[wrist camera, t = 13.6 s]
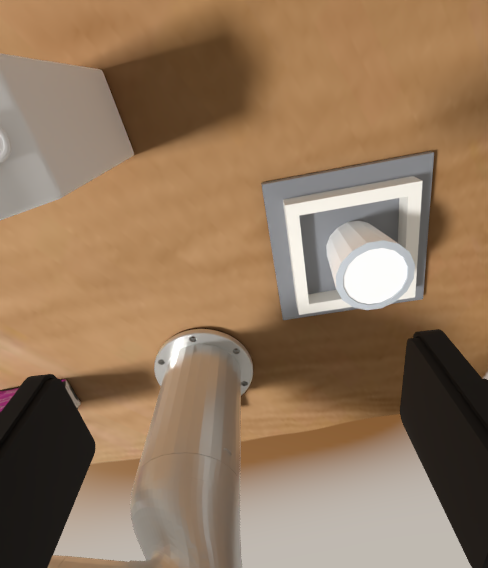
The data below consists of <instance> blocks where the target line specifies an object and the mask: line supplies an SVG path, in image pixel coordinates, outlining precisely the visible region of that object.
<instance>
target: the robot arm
mask: <svg viewBox="0 0 488 568" xmlns="http://www.w3.org/2000/svg"><path fill="white" fill-rule="evenodd" d="M154 371H155V376H156V379H157V381H158V383H159V385H160V386H161V388H160V392H159V395H158V399H157V403H156V406H155V410H154V413H153V417H152V420H151V424H150V427H149V431H148V435H147V438H146V442H145V445H144V449H143V452H142V456H141V460H140V464H139V467H138V470H137V474H136V478H135V481H134V485H133V489H132V494H131V504H130V509H131V520H132V523H133V527H134V531H135V534H136V537H137V539H138V542H139V544H140V547H141V549H142V551H143V554H144V556H145V558H146V560H147V561H130V562H125V561H114V560H103V559H93V558H82V557H72V556H58V555H53V553H54V551H55V548H56V546H57V543H58V541H59V539H60V536H61V534H62V531H63V529H64V526H65V524H66V522H67V519H68V517H69V514H70V512H71V509H72V507H73V505H74V502H75V500H76V497H77V495H78V492H79V490H80V488H81V485H82V483H83V480H84V478H85V475H86V473H87V470H88V468H89V466H90V463H91V461H92V458H93V456H94V453H95V441H94V439H93V437H92V435H91V434H90V432H89V430H88V428H87V426H86V424H85V423H84V421H83V419H82V417H81V415H80V413H79V412H78V410H77V408H76V406H75V404H74V402H73V400H72V399H71V397H70V395H69V393H68V391H67V389H66V388H65V386H64V384H63V382H62V381H61V380H60V379H57V378H56V377H55V376H54V375H52V374H47V375H38V376H30V377H28V378H27V379H26V380H25V381H24V382H23V383H22V385H21V386H20V387H19V389H18V390H17V391H16V393H15V394H14V395H13V397H12V398H11V399H10V401H9V402H8V403H7V405H6V406H5V407H4V408H3V410H2V411H1V412H0V568H242V560H241V542H240V430H241V395H242V394H243V393H245V391H246V390H247V389H248V387H249V386H250V383H251V381H252V377H253V363H252V359H251V356H250V354H249V352H248V351H247V349H246V348H245V347H244V346H243V344H241V343H240V342H239V341H238V340H237V339H235V338H233V337H231V336H230V335H228V334H225V333H223V332H220V331H215V330H210V329H194V330H188V331H184V332H181V333H179V334H177V335H175V336H173V337H171V338H170V339H169V340H167V341H166V342H165V343H164V344H163V345H162V347H161V348H160V350H159V352H158V354H157V357H156V360H155V366H154ZM400 415H401V419H402V423H403V425H404V427H405V429H406V431H407V434H408V436H409V438H410V440H411V442H412V444H413V446H414V448H415V450H416V452H417V454H418V457H419V459H420V461H421V463H422V465H423V467H424V469H425V471H426V473H427V475H428V477H429V480H430V482H431V484H432V486H433V488H434V490H435V492H436V494H437V496H438V498H439V500H440V502H441V504H442V507H443V509H444V511H445V513H446V515H447V517H448V519H449V521H450V523H451V525H452V528H453V530H454V532H455V534H456V536H457V538H458V540H459V542H460V544H461V546H462V548H463V550H464V553H465V555H466V557H467V559H468V561H469V563H470V565H471V566H472V568H488V380H487V379H482V378H481V377H480V376H479V374H478V373H477V372H476V371H475V370H474V368H473V367H472V366H471V365H470V364H469V362H468V361H467V360H466V359H465V357H464V356H463V355H462V354H461V353H460V351H459V350H458V349H457V348H456V347H455V345H454V344H453V343H452V342H451V341H450V339H449V338H448V337H447V336H446V335H445V333H444V332H443V331H441V330H439V329H438V330H429V331H420V332H415V334H414V336H413V338H410V339H408V340H407V346H406V356H405V366H404V376H403V385H402V395H401V405H400Z"/></svg>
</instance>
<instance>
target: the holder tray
mask: <svg viewBox="0 0 488 568" xmlns="http://www.w3.org/2000/svg"><path fill="white" fill-rule="evenodd" d="M433 161H434V152H431V151H429V152H423V153H418V154H413V155H407V156H402V157H396V158H391V159H386V160H380V161H375V162H370V163H364V164H359V165H354V166H348V167H343V168H338V169H332V170H327V171H322V172H316V173H311V174H306V175H300V176H295V177H290V178H284V179H279V180H274V181H268V182H263V183H261V184H262V190H263V197H264V203H265V209H266V216H267V222H268V228H269V235H270V241H271V247H272V254H273V260H274V266H275V273H276V279H277V285H278V292H279V298H280V304H281V311H282V317H283V320H288V319H295V318H301V317H308V316H315V315H321V314H328V313H334V312H341V311H348V310H354V309H359V308H354V307H352V306H350V305H349V304H347V303H346V302H345V301H343V300H342V298H341V297H340V295H339V293H338V291H337V290H336V286H335V283H334V279H333V276H332V272H331V268H330V265H329V261H328V258H327V249H326V245H327V243H328V240H329V237H330V235H331V234H332V233H333V232H334V231H335V230H336V229H337V228H338V227H340V226H341V225H343V224H345V223H347V222H352V221H362V222H367V223H369V224H371V225H372V226H374V227H375V228H377V229H378V230H380V231H381V232H382V233H384V234H385V235H387V236H388V237H390V238H391V239H393V240H394V241H396V242H397V243H398V244H400V245H401V246H402V247H404V248H405V249H406V250H407V251H409V252H410V254H411V256H412V259H413V261H414V263H415V271H414V279H413V281H412V283H411V285H410V287H409V288H408V290H407V292H406V293H404V294H403V295H402V296H401V297H400V298H399V299H398V300H397V301H396V302H394V303H400V302H407V301H414V300H420V299H423V292H424V279H425V266H426V253H427V240H428V226H429V213H430V200H431V187H432V174H433ZM394 303H392V304H394Z"/></svg>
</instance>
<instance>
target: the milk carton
mask: <svg viewBox="0 0 488 568" xmlns="http://www.w3.org/2000/svg"><path fill="white" fill-rule="evenodd" d="M132 156H134V152H133V149H132V146H131V144H130V141H129V138H128V136H127V133H126V131H125V128H124V125H123V123H122V120H121V118H120V115H119V112H118V110H117V107H116V105H115V102H114V99H113V97H112V94H111V91H110V89H109V86H108V84H107V81H106V79H105V76H104V74H103V72H102V70H101V69H95V68H89V67H83V66H76V65H70V64H64V63H57V62H51V61H44V60H38V59H32V58H25V57H19V56H13V55H6V54H0V220H3V219H5V218H8V217H11V216H14V215H16V214H19V213H22V212H25V211H27V210H30V209H33V208H36V207H38V206H41V205H44V204H47V203H49V202H52V201H55V200H58V199H60V198H62V197H64V196H65V195H67V194H69V193H70V192H72V191H74V190H76V189H77V188H79V187H81V186H82V185H84V184H86V183H88V182H89V181H91V180H93V179H94V178H96V177H98V176H100V175H101V174H103V173H105V172H107V171H108V170H110V169H112V168H113V167H115V166H117V165H119V164H120V163H122V162H124V161H125V160H127V159H129V158H131V157H132Z"/></svg>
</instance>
